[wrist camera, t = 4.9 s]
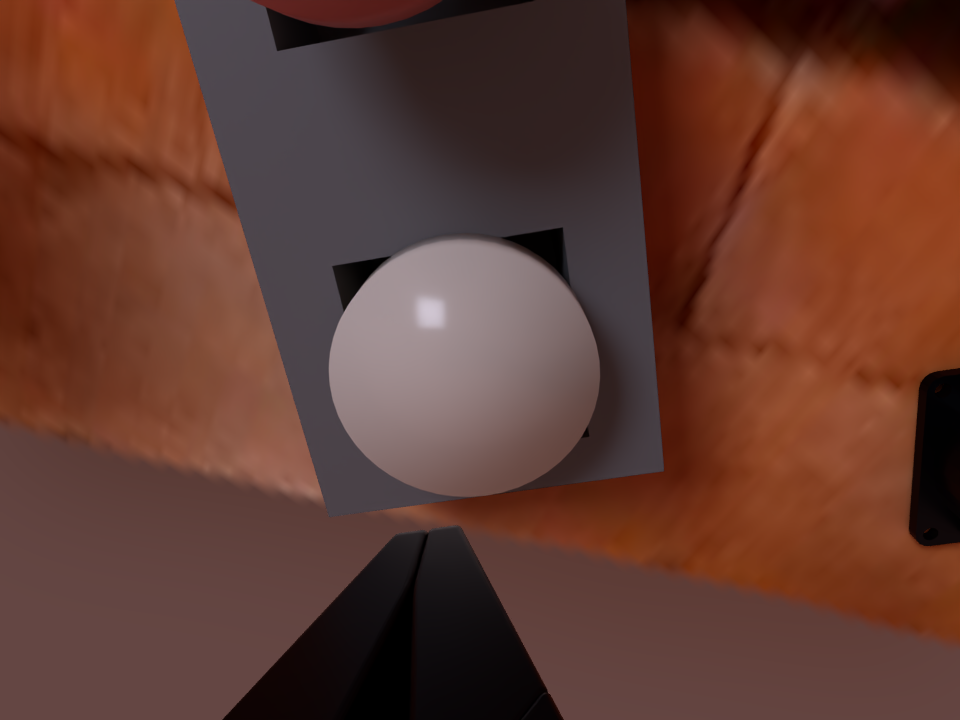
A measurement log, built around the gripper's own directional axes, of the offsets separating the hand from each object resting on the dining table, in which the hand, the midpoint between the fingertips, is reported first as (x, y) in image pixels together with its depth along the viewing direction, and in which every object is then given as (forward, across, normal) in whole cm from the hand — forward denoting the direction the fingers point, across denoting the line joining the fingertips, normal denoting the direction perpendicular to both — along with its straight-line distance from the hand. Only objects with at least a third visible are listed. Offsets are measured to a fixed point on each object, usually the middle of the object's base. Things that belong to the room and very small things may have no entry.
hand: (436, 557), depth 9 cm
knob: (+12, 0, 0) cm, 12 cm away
